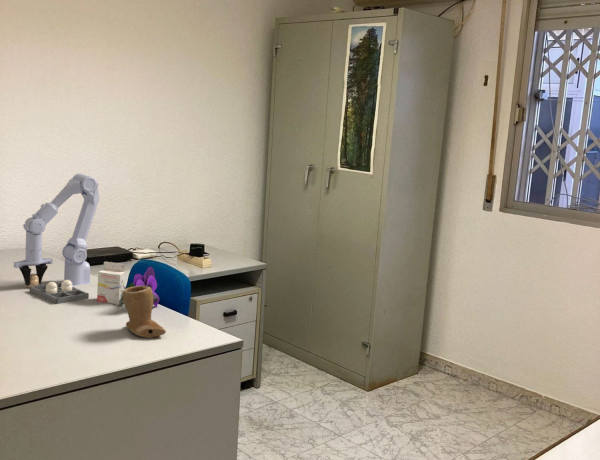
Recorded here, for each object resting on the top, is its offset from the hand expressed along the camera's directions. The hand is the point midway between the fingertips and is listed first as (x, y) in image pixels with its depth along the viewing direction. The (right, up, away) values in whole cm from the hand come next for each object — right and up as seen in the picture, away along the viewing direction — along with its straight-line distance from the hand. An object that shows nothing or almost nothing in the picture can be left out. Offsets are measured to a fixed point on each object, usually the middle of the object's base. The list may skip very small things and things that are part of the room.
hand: (33, 284), depth 250 cm
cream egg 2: (+14, -3, -5) cm, 16 cm away
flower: (+43, -8, -10) cm, 44 cm away
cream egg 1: (+11, -4, -9) cm, 15 cm away
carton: (+12, -4, -7) cm, 15 cm away
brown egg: (0, -1, 0) cm, 1 cm away
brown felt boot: (+51, -13, -37) cm, 64 cm away
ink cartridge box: (+32, -6, -8) cm, 34 cm away
